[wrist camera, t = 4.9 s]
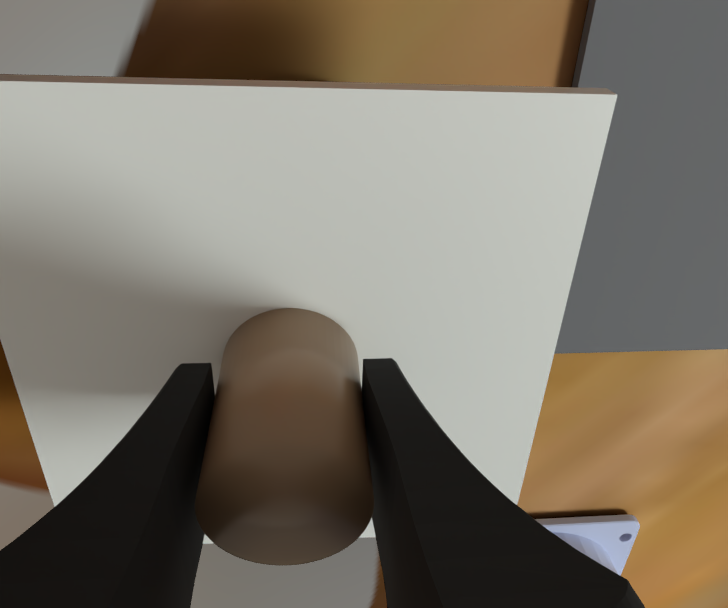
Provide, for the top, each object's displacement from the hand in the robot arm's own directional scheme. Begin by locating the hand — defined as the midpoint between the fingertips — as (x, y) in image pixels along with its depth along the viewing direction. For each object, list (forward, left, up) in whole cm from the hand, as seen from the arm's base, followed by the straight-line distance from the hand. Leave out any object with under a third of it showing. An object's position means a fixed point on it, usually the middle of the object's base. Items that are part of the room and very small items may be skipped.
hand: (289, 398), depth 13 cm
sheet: (0, 0, -2) cm, 2 cm away
